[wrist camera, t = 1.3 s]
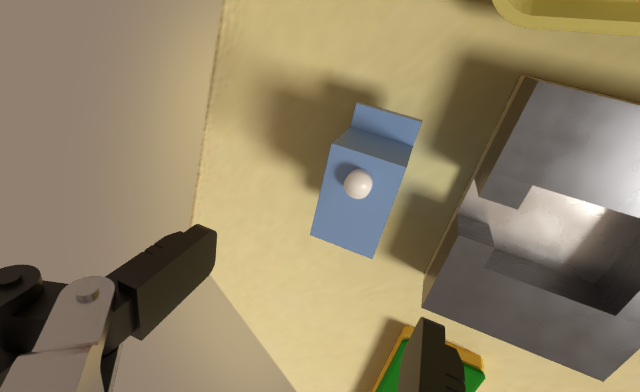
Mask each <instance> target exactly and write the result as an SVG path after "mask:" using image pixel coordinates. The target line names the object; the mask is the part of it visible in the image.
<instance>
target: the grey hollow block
mask: <svg viewBox="0 0 640 392" xmlns="http://www.w3.org/2000/svg"><path fill="white" fill-rule="evenodd" d="M421 308H424V309H426V310H429V311H431V312H434V313H436V314H438V315H441V316H443V317H446V318H448V319H451V320H453V321H456V322H458V323H461V324H463V325H465V326H468V327H470V328H473V329H475V330H478V331H480V332H483V333H485V334H488V335H490V336H492V337H495V338H497V339H500V340H502V341H505V342H507V343H510V344H512V345H515V346H517V347H519V348H522V349H524V350H527V351H529V352H532V353H534V354H537V355H539V356H542V357H544V358H546V359H549V360H551V361H554V362H556V363H559V364H561V365H564V366H566V367H568V368H571V369H573V370H576V371H578V372H581V373H583V374H586V375H588V376H591V377H593V378H595V379H598V380H600V381H603V382H604V381H605V380H606V379H607V378H608V377H609V376H610V375H611V374H612V373H613V372H615V371H616V370H617V369H618V368H619V367H620V366H621V365H622V364H623V363H624V362H625V361H627V360H628V359H629V358H630V357H631V356H632V355H633V354H634V353H635V352H636V351H637V350H639V349H640V103H636V102H632V101H628V100H624V99H619V98H615V97H611V96H607V95H603V94H599V93H595V92H591V91H587V90H583V89H578V88H574V87H570V86H566V85H562V84H558V83H554V82H550V81H546V80H541V79H537V78H533V77H529V76H525V75H521V76H520V78H519V80H518V82H517V84H516V86H515V89H514V91H513V93H512V95H511V97H510V99H509V101H508V103H507V105H506V107H505V109H504V111H503V113H502V115H501V117H500V119H499V121H498V123H497V125H496V127H495V130H494V132H493V134H492V136H491V138H490V140H489V142H488V144H487V146H486V148H485V150H484V152H483V154H482V156H481V158H480V160H479V162H478V164H477V166H476V168H475V171H474V173H473V175H472V177H471V179H470V181H469V183H468V185H467V187H466V189H465V191H464V193H463V195H462V197H461V199H460V201H459V203H458V205H457V207H456V209H455V212H454V214H453V216H452V218H451V220H450V222H449V224H448V226H447V228H446V230H445V232H444V234H443V236H442V238H441V240H440V242H439V244H438V246H437V248H436V250H435V253H434V255H433V257H432V259H431V261H430V263H429V265H428V267H427V269H426V271H425V273H424V281H423V293H422V305H421Z"/></svg>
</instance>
